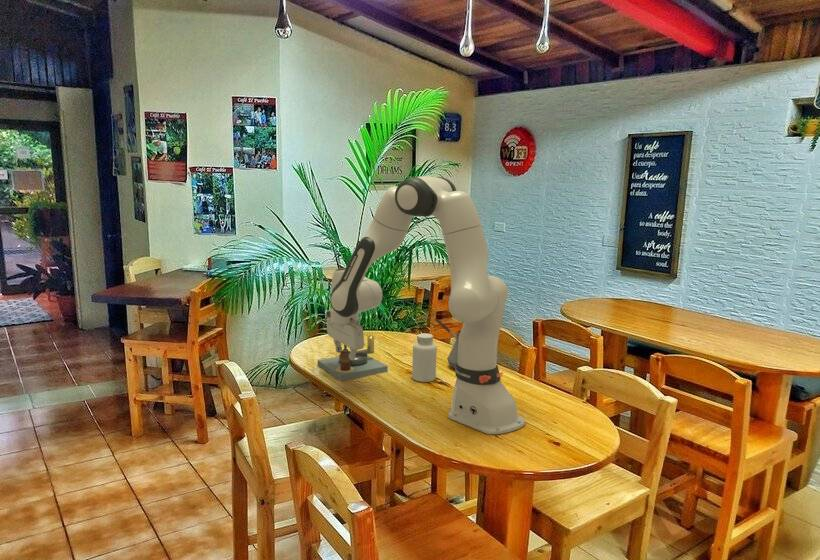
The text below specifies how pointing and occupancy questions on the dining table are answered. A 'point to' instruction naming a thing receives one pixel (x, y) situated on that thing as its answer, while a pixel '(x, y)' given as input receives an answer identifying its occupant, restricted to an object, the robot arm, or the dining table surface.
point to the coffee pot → (454, 352)
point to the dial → (363, 353)
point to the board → (352, 368)
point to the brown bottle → (344, 359)
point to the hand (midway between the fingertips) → (345, 355)
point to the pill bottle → (424, 358)
